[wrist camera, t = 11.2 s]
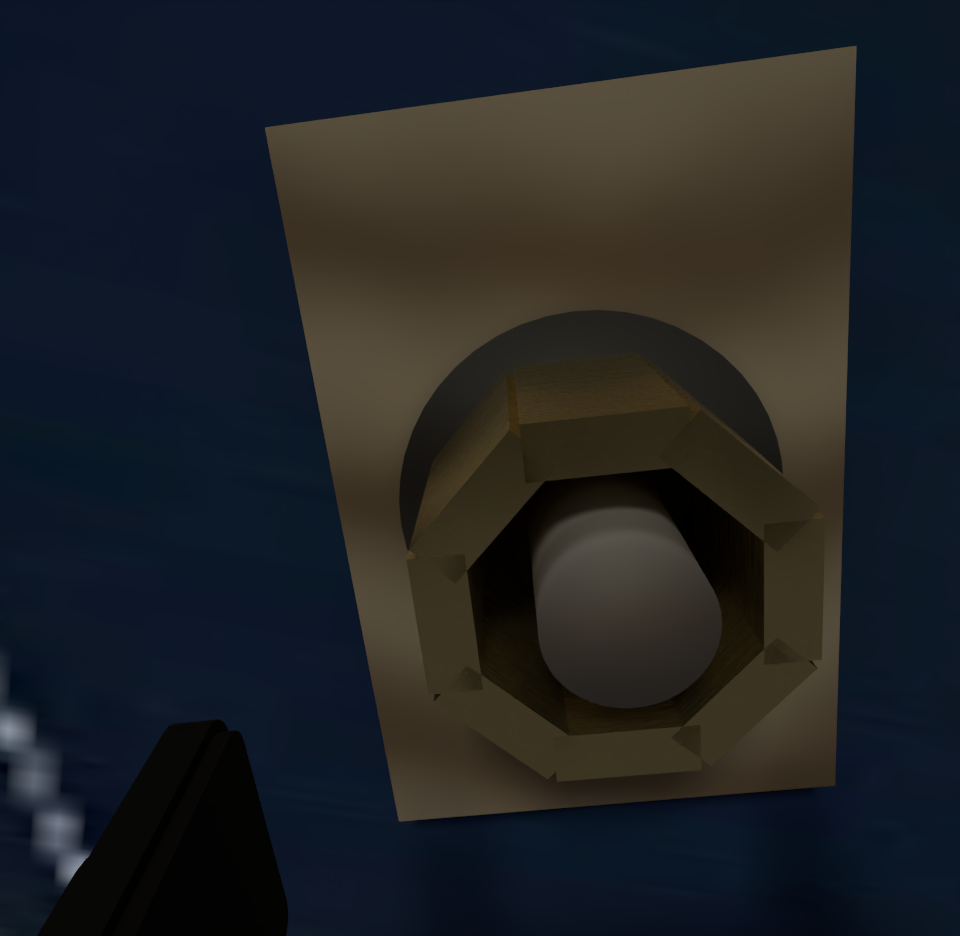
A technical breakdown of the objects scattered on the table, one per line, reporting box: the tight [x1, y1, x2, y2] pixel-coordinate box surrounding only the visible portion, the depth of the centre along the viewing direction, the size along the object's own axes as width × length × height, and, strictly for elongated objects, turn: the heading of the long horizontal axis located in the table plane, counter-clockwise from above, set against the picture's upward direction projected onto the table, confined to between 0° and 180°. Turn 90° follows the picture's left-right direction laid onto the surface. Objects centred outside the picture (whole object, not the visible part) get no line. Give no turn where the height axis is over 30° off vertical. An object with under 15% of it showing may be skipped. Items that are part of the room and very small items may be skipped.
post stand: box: [265, 46, 856, 821], centre depth 16 cm, size 18×12×8 cm, turn 7°
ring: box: [406, 352, 826, 782], centre depth 15 cm, size 7×7×5 cm
